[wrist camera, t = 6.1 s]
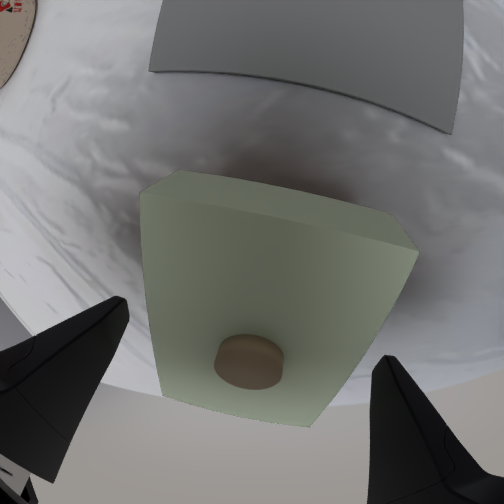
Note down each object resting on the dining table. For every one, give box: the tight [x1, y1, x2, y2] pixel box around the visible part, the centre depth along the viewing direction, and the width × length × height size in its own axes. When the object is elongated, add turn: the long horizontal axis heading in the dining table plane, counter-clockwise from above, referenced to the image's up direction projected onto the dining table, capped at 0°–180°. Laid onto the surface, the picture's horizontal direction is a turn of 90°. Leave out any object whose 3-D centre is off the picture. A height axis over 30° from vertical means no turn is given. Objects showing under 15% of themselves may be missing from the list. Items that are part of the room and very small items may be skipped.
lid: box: [140, 170, 420, 427], centre depth 9 cm, size 7×9×3 cm
